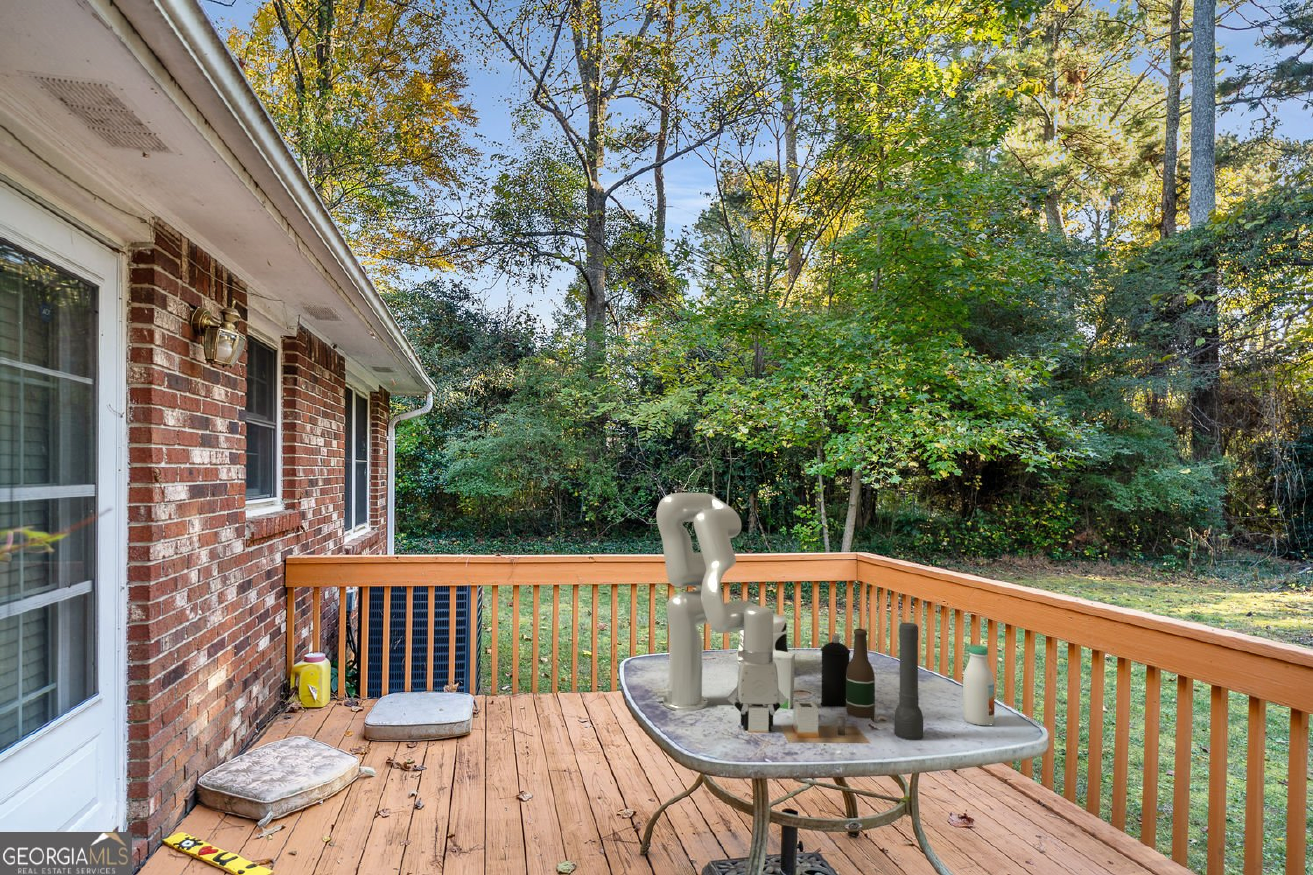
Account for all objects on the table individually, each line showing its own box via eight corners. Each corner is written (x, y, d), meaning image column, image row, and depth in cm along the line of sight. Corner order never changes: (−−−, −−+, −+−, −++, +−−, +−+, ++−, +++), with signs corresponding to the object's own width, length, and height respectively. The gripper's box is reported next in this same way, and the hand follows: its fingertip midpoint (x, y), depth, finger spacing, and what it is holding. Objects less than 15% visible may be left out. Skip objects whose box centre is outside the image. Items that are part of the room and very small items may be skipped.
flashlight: (927, 734, 176) (900, 727, 180) (927, 624, 177) (900, 619, 182) (918, 742, 170) (890, 735, 175) (918, 628, 172) (890, 624, 176)
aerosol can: (851, 712, 191) (851, 639, 192) (820, 709, 193) (821, 637, 194) (849, 702, 199) (849, 632, 200) (819, 700, 201) (820, 631, 202)
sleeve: (747, 736, 171) (748, 707, 171) (744, 727, 176) (745, 700, 177) (768, 736, 171) (769, 708, 172) (765, 728, 177) (765, 700, 177)
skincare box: (761, 710, 191) (761, 654, 192) (765, 703, 197) (766, 648, 198) (791, 714, 188) (791, 657, 189) (794, 707, 194) (795, 651, 195)
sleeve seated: (797, 737, 168) (797, 708, 169) (792, 729, 173) (792, 701, 174) (818, 737, 168) (819, 708, 169) (813, 729, 174) (813, 701, 174)
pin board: (788, 748, 165) (788, 725, 165) (779, 731, 176) (779, 709, 176) (870, 749, 166) (870, 726, 166) (856, 731, 177) (856, 710, 177)
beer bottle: (870, 726, 181) (871, 634, 182) (841, 720, 185) (842, 630, 186) (878, 717, 187) (878, 628, 189) (850, 711, 192) (850, 624, 193)
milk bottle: (981, 728, 181) (981, 651, 182) (956, 718, 187) (956, 644, 188) (1000, 724, 184) (1000, 648, 185) (975, 714, 191) (975, 642, 192)
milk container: (726, 670, 229) (726, 616, 230) (758, 661, 241) (759, 609, 242) (767, 682, 217) (767, 625, 217) (799, 672, 228) (800, 618, 229)
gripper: (726, 659, 171) (724, 733, 170) (794, 661, 171) (793, 735, 170) (722, 651, 178) (721, 722, 177) (788, 652, 179) (787, 723, 178)
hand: (756, 727), depth 174 cm, fingers closed on sleeve, 5 cm apart
